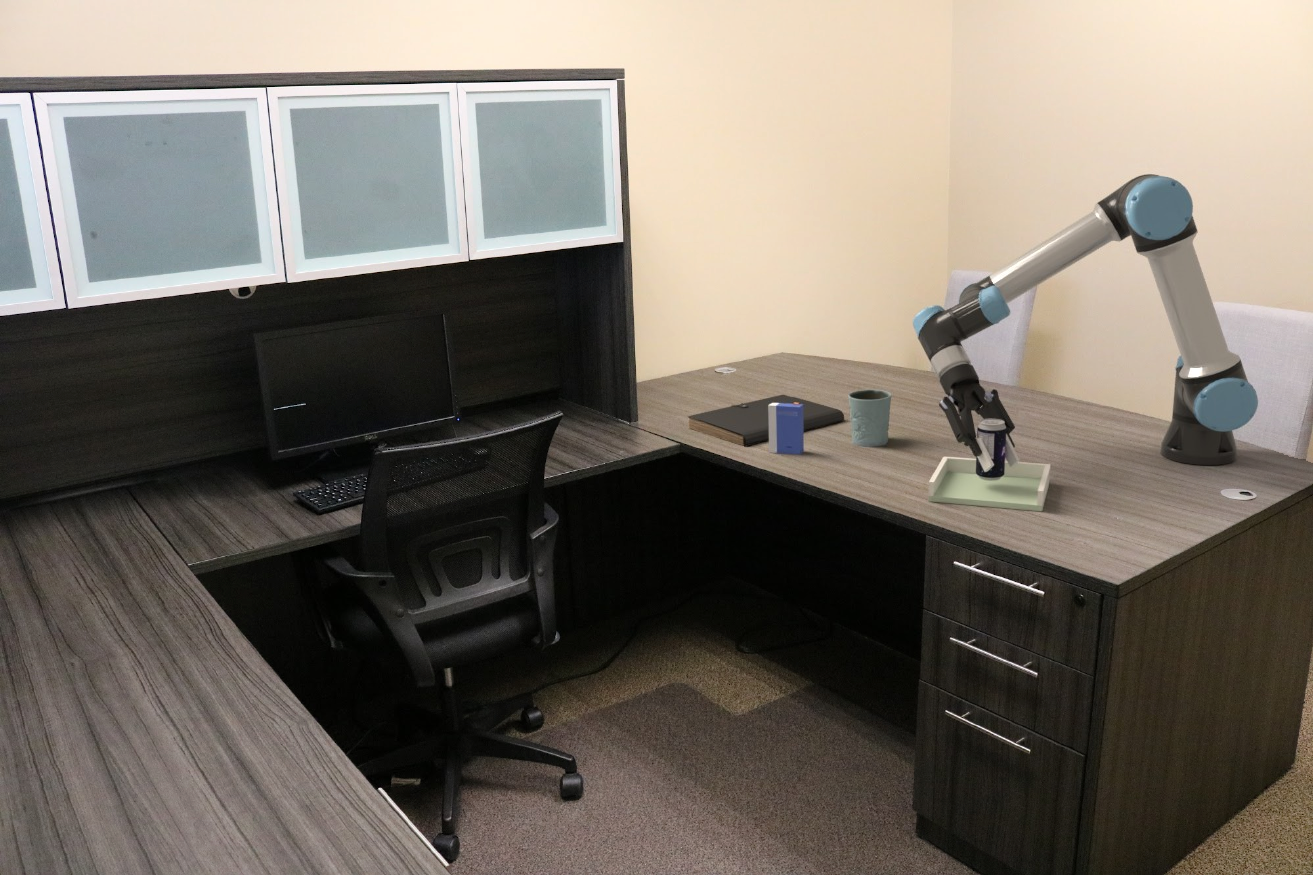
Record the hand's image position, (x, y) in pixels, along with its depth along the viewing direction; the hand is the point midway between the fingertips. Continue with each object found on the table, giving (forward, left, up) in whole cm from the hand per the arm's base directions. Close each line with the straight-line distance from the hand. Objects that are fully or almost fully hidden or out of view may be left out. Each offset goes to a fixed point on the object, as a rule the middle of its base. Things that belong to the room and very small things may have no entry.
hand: (1002, 465), depth 221 cm
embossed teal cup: (+34, -33, -7) cm, 48 cm away
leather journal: (+64, -42, -7) cm, 77 cm away
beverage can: (+3, -3, -4) cm, 5 cm away
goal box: (+2, -3, -7) cm, 8 cm away
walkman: (+51, -20, -7) cm, 55 cm away
